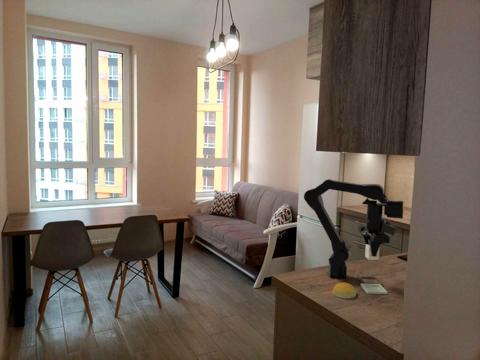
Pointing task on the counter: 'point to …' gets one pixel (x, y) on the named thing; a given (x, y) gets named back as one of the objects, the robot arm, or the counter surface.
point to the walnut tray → (370, 280)
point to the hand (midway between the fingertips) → (372, 254)
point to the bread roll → (344, 290)
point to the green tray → (373, 288)
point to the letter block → (369, 254)
